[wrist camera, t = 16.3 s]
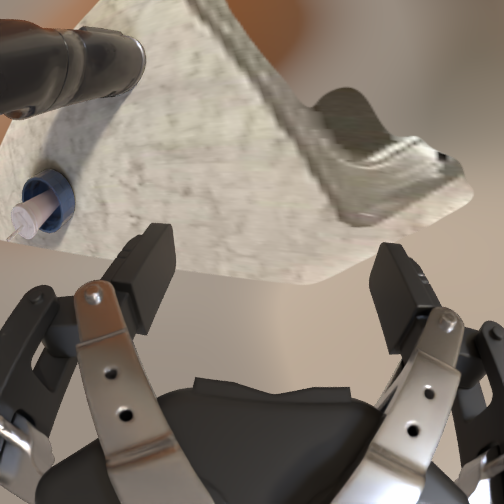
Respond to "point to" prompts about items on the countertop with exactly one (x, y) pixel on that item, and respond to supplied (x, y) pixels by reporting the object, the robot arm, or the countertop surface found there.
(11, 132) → the countertop surface
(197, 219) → the countertop surface
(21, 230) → the smoothie
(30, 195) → the bowl
